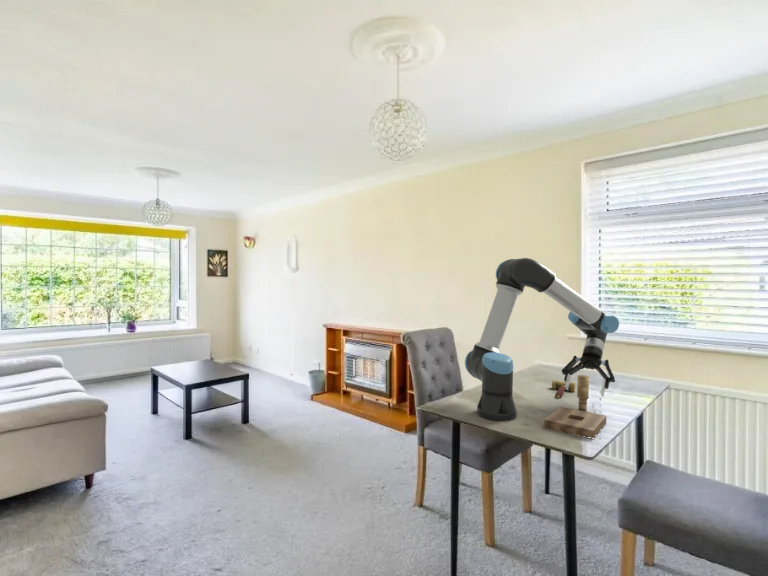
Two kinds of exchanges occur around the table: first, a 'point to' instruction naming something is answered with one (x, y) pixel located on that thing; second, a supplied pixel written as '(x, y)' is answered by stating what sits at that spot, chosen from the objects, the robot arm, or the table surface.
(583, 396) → the peg
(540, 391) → the table surface
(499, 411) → the robot arm
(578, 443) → the table surface
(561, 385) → the gavel
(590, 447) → the table surface
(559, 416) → the board
